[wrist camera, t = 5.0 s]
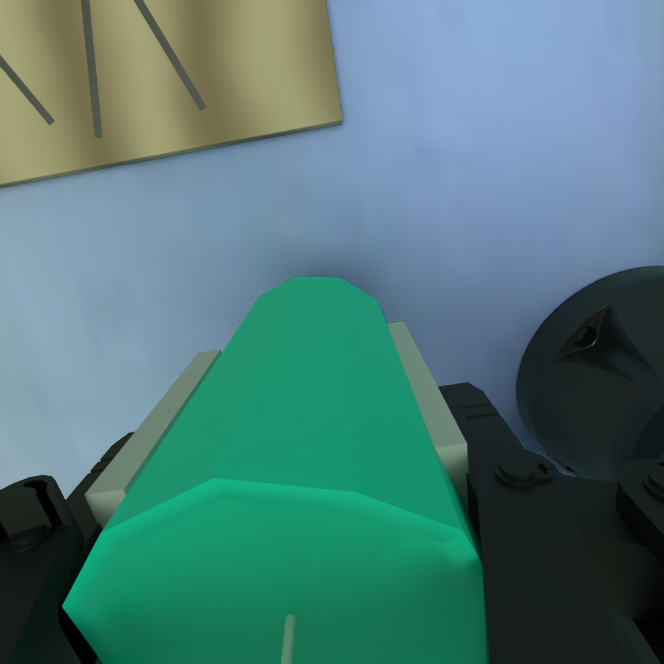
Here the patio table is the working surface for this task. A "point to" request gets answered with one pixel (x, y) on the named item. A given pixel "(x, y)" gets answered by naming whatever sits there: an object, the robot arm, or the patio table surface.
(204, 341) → the patio table surface
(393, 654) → the candle
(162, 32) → the oak board
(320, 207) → the patio table surface
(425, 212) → the patio table surface
